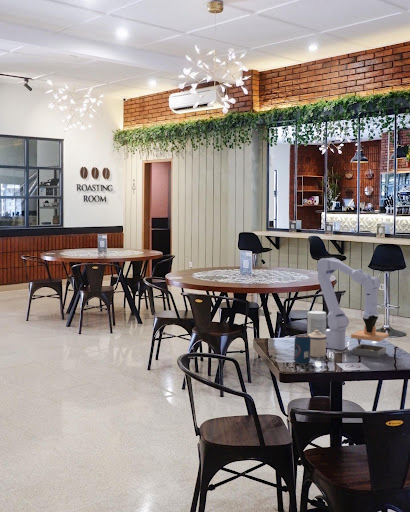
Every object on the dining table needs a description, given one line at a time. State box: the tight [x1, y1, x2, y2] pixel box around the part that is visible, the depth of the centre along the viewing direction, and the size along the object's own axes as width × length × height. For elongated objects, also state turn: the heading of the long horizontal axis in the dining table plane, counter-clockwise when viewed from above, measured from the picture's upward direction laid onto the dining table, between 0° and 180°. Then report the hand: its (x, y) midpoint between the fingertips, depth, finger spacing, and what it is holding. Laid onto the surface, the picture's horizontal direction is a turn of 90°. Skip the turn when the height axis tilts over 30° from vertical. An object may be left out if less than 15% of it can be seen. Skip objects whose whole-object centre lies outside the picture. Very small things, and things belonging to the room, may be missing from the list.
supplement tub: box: [306, 310, 327, 335], centre depth 327 cm, size 10×10×15 cm
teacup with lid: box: [308, 330, 327, 358], centre depth 295 cm, size 12×9×12 cm
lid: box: [350, 325, 390, 343], centre depth 298 cm, size 14×14×5 cm
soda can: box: [293, 334, 311, 365], centre depth 280 cm, size 7×7×12 cm
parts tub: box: [352, 343, 387, 359], centre depth 299 cm, size 12×12×3 cm
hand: (369, 332), depth 298 cm, fingers closed on lid
